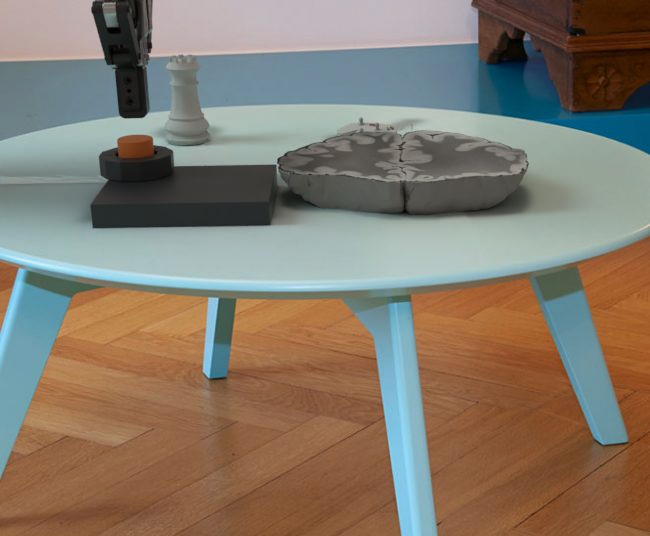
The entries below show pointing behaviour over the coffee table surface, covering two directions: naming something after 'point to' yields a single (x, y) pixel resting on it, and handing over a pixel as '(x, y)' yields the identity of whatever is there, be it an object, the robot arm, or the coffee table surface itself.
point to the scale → (181, 193)
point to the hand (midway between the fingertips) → (134, 116)
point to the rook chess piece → (185, 104)
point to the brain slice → (404, 172)
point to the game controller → (366, 128)
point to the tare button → (135, 146)
